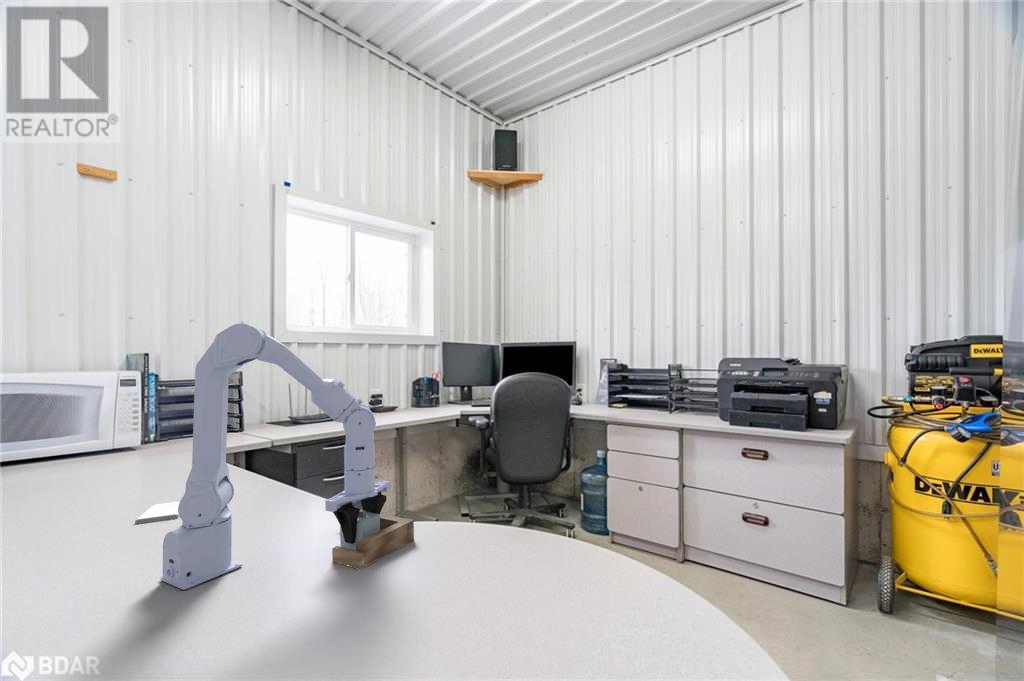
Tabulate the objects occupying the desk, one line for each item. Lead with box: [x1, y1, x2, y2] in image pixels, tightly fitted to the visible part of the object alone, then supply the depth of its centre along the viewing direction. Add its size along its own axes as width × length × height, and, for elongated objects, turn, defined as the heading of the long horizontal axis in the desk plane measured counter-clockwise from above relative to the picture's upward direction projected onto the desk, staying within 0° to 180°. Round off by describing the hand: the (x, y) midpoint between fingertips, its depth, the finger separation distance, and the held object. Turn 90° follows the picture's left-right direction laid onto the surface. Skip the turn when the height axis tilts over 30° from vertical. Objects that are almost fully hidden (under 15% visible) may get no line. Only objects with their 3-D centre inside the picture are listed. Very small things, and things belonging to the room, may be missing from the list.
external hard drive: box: [134, 500, 181, 525], centre depth 110 cm, size 2×8×12 cm
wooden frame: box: [331, 513, 415, 570], centre depth 88 cm, size 14×19×4 cm
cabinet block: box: [339, 509, 381, 551], centre depth 87 cm, size 4×6×7 cm
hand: (360, 537), depth 87 cm, fingers closed on cabinet block, 4 cm apart
